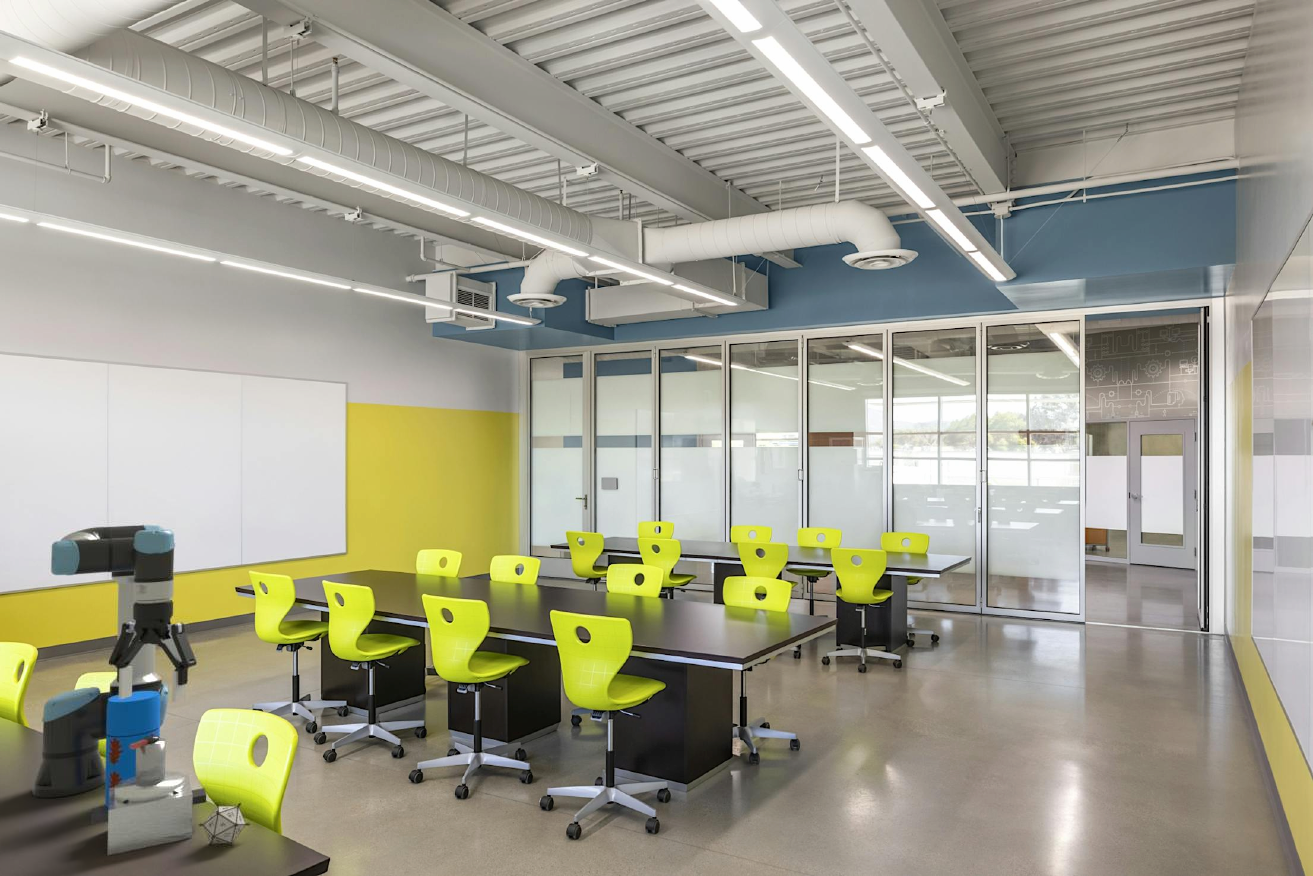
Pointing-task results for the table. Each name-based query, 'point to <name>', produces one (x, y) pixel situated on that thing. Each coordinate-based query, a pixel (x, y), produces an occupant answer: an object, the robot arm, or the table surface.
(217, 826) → the game die
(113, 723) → the thermos
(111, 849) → the base
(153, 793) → the lid
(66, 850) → the table surface
